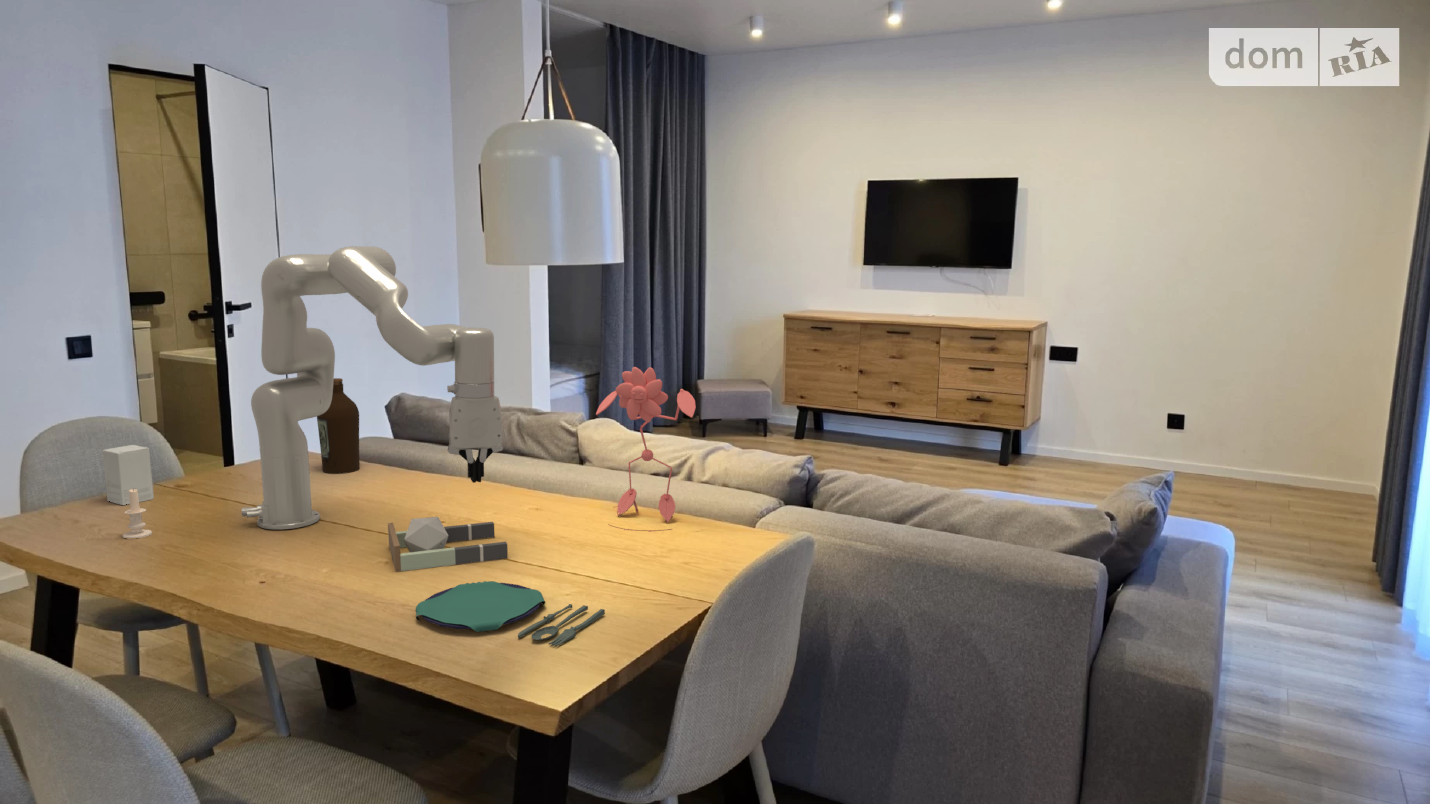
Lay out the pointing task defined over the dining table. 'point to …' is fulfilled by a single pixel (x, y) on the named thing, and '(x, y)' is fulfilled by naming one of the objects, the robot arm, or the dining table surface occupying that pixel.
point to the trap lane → (448, 554)
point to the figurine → (644, 400)
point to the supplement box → (127, 473)
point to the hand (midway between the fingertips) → (475, 480)
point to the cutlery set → (495, 609)
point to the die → (425, 534)
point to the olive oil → (339, 433)
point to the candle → (135, 518)
